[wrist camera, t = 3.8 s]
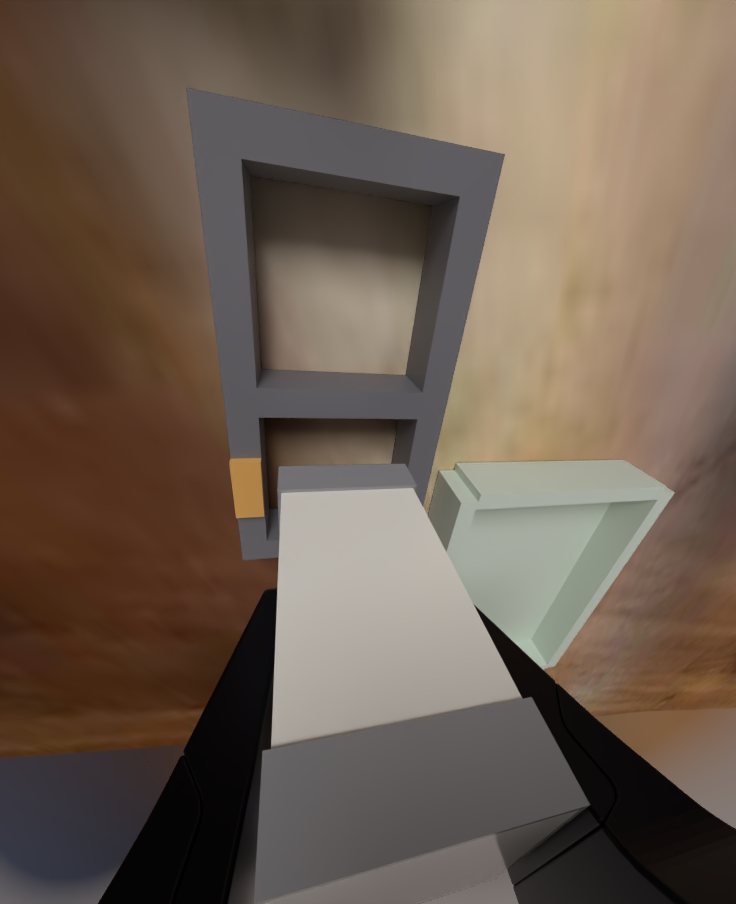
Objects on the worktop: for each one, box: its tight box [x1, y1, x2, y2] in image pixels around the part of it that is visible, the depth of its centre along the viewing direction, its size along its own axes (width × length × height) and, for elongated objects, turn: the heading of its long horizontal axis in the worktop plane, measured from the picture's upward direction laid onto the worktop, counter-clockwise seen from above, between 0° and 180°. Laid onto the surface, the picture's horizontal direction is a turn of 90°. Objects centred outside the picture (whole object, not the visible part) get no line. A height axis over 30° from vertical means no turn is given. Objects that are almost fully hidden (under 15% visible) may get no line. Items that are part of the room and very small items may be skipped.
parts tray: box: [428, 460, 675, 670], centre depth 20 cm, size 12×17×2 cm
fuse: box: [254, 464, 590, 904], centre depth 8 cm, size 4×4×8 cm
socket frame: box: [186, 88, 505, 560], centre depth 12 cm, size 8×14×2 cm, turn 174°
